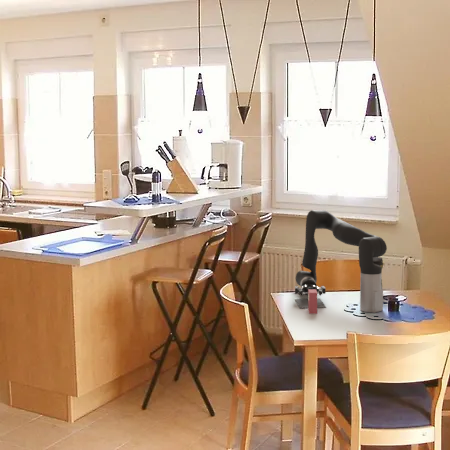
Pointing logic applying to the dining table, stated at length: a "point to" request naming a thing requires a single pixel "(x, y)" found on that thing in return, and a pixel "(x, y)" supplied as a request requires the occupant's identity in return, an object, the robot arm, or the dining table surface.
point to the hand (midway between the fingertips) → (311, 293)
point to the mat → (304, 303)
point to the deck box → (312, 301)
